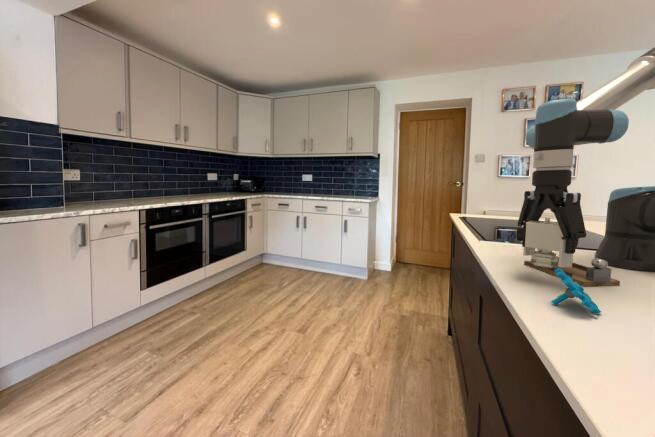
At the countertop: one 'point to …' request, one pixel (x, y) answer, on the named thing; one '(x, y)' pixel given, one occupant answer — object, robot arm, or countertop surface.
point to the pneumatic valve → (541, 241)
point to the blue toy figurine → (574, 292)
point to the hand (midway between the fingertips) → (545, 260)
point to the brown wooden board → (575, 274)
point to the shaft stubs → (598, 271)
